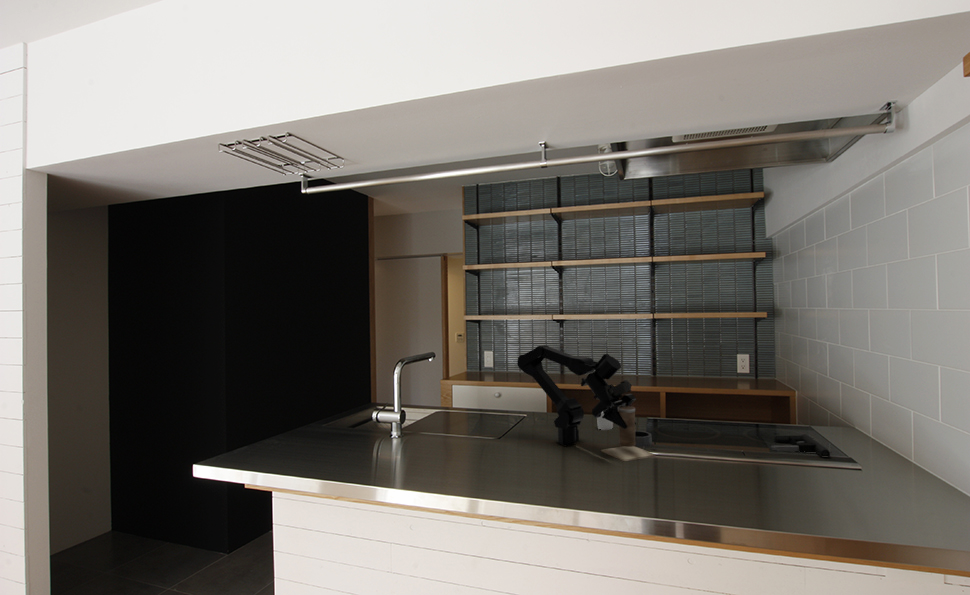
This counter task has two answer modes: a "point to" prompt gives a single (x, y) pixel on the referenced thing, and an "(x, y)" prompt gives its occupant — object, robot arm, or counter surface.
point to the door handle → (800, 444)
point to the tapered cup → (629, 433)
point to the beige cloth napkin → (628, 453)
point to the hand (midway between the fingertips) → (630, 426)
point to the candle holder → (643, 439)
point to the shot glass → (604, 423)
